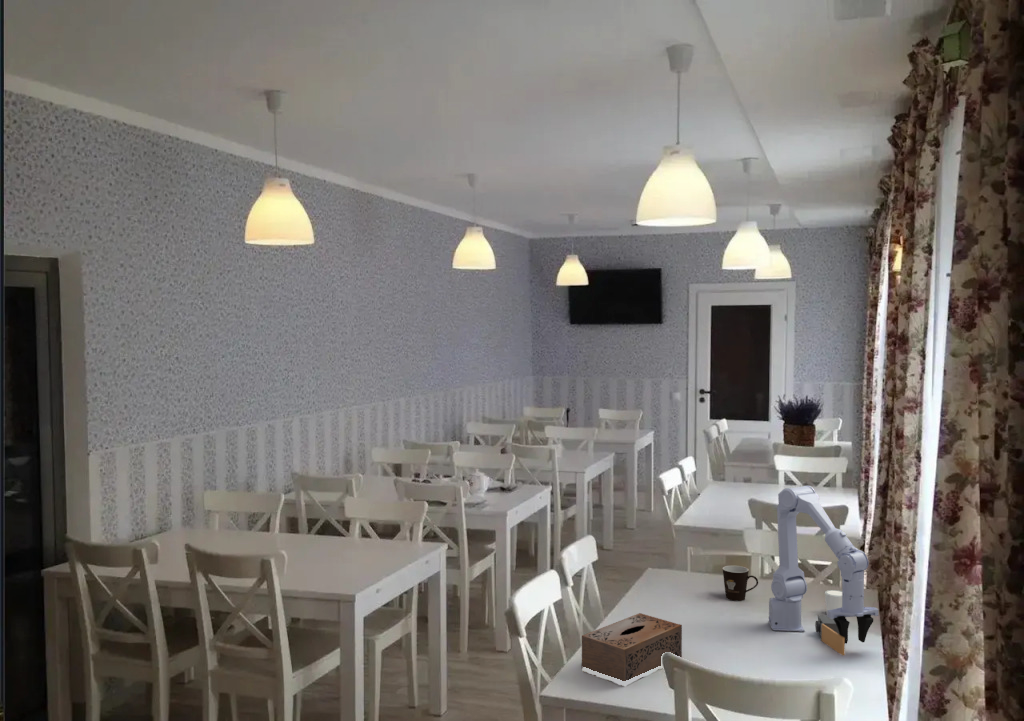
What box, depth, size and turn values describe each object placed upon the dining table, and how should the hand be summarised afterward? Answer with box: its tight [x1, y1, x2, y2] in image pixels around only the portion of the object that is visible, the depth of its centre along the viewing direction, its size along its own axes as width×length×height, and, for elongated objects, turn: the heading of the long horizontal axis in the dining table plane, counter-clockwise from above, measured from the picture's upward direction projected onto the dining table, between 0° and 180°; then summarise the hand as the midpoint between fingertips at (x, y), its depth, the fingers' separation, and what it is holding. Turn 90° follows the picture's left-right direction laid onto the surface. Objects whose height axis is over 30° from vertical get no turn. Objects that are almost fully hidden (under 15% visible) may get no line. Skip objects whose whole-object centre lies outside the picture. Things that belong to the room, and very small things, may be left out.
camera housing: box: [814, 614, 839, 637], centre depth 259 cm, size 8×7×6 cm
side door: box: [820, 623, 846, 656], centre depth 250 cm, size 12×1×5 cm, turn 9°
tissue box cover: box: [581, 612, 683, 681], centre depth 238 cm, size 26×14×10 cm, turn 135°
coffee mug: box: [722, 565, 759, 602], centre depth 294 cm, size 12×9×10 cm
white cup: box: [824, 589, 842, 614], centre depth 278 cm, size 7×7×7 cm
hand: (852, 641), depth 246 cm, fingers open, 5 cm apart
